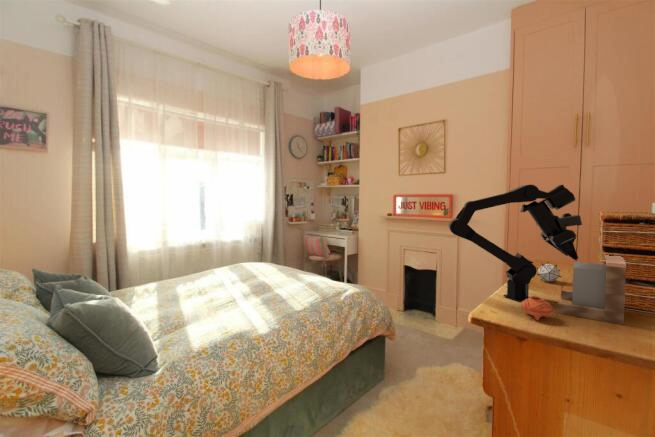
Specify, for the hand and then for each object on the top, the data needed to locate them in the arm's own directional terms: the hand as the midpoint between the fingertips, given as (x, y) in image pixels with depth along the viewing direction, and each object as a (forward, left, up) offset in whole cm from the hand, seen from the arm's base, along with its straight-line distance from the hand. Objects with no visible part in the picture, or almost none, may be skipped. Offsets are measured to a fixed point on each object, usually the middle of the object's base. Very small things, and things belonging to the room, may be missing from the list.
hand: (572, 257), depth 105 cm
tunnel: (-2, -6, -15) cm, 17 cm away
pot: (-22, -4, -16) cm, 28 cm away
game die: (+19, +21, -16) cm, 32 cm away
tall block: (-1, -7, -15) cm, 17 cm away
